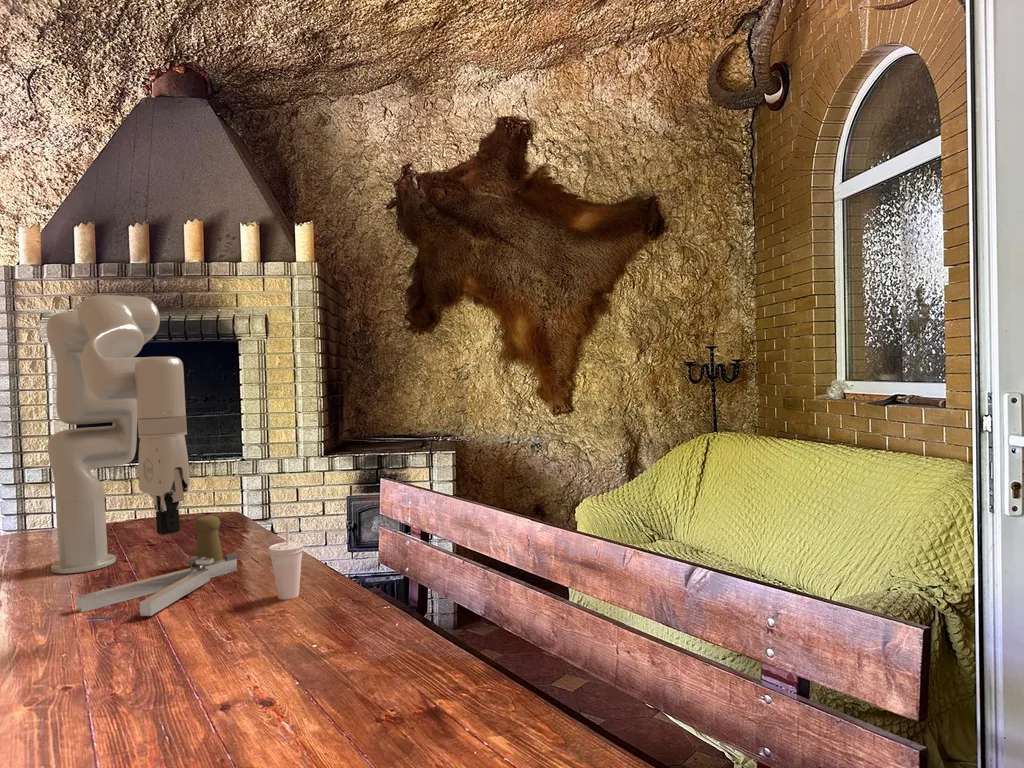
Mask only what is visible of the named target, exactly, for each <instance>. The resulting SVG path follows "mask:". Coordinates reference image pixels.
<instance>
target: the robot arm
mask: <svg viewBox="0 0 1024 768" xmlns="http://www.w3.org/2000/svg"><path fill="white" fill-rule="evenodd" d="M160 319H161V317H160V312H159V309H158V307H157V306H156V304H155V303H154V302H153V300H151V299H150V298H147V297H145V296H139V295H138V296H136V295H133V296H132V295H113V294H98V295H93V296H89V297H87V298H86V299H84V300H83V301H82V302H80V304H79V306H78V309H77V311H64V312H58V313H55V314H52V316H50V317H49V318H48V321H47V324H46V337H47V340H48V341H47V342H48V344H49V347H50V349H51V351H52V355H53V357H54V361H55V363H56V364H55V365H56V385H55V386H56V389H55V390H56V395H55V397H56V400H55V401H56V414H57V418H58V419H59V421H61V422H62V423H64V424H65V425H93V424H103V423H104V424H105V423H107V424H108V423H112V425H105V426H92V427H90V426H89V427H78V428H69V429H67V428H66V429H64V430H61V431H58V432H56V433H54V434H53V435H52V436H51V437H50V438H49V439H48V442H47V455H48V459H49V463H50V466H51V471H52V472H51V473H52V477H53V484H54V496H55V513H56V514H55V515H56V528H57V529H56V531H57V547H58V548H57V550H58V561H56V562H54V563H53V564H51V566H50V570H51V572H52V573H55V574H63V575H64V574H65V575H67V574H78V573H85V572H86V573H87V572H91V571H94V570H100V569H103V568H105V567H108V566H110V565H113V564H114V563H115V562H116V561H117V557H116V555H114V554H112V553H109V552H108V551H109V550H108V537H107V536H108V535H107V517H106V500H105V499H106V497H105V488H104V485H103V483H102V482H101V480H100V479H98V478H97V477H96V476H95V475H94V474H92V472H91V470H94V469H99V468H100V469H101V468H108V467H117V466H123V465H126V464H129V463H131V462H132V461H133V460H134V459H135V455H136V452H137V442H138V441H137V437H138V438H139V443H138V444H139V445H138V465H137V466H138V489H139V490H140V492H141V493H144V494H146V495H149V496H150V497H151V498H152V499H153V507H154V510H155V520H156V533H157V534H158V535H162V536H164V535H165V536H166V535H169V534H170V535H171V534H174V533H179V532H180V530H181V528H180V513H179V511H180V507H181V504H180V503H181V502H182V501H183V502H184V500H185V495H184V494H185V493H186V492H187V491H188V490H189V489H190V482H191V481H190V479H191V478H190V467H189V456H188V449H187V443H186V435H188V429H187V426H188V425H187V415H186V414H187V413H186V411H187V410H186V396H185V395H186V394H185V393H186V392H185V376H184V375H185V373H184V371H185V370H184V363H183V361H182V360H181V358H179V357H176V356H146V357H142V356H140V357H138V356H137V355H138V354H139V353H140V352H141V351H142V348H144V347H143V346H144V345H146V344H147V343H148V342H149V341H150V340H151V339H152V338H153V337H155V335H156V334H157V332H158V330H159V328H160V324H161V323H160V322H161V320H160ZM136 356H137V357H136Z"/></svg>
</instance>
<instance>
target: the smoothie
mask: <svg viewBox="0 0 1024 768" xmlns="http://www.w3.org/2000/svg"><path fill="white" fill-rule="evenodd" d="M304 549H305V547H304V543H303V542H301V541H290V527H289V522H288V521H286V522H285V541H284V542H279V543H276V544H273V545H272V544H271V545H270V546H269V547H268V554H269V555H270V559H271V563H272V565H271V566H272V570H273V574H274V575H273V576H274V581H275V586H276V592H277V598H278V599H279V600H283V601H285V600H287V601H288V600H293V599H296V598H298V597H299V595H300V585H301V584H300V583H301V571H302V570H301V569H302V557H303V551H304Z"/></svg>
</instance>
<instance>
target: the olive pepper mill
mask: <svg viewBox="0 0 1024 768" xmlns="http://www.w3.org/2000/svg"><path fill="white" fill-rule="evenodd" d="M220 526H221V520H220V518H219V517H218V516H216V515H204V516H201V517H198V518H197V519H196V520H195V522H194V529H195V531H196V532H197V537H196V538H197V539H196V549H195V556H206V558H214V562H216V561H220V560H224V556H223V550H222V546H221V541H220V535H219V529H220ZM203 565H204V564H203Z"/></svg>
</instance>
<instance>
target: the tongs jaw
mask: <svg viewBox="0 0 1024 768" xmlns="http://www.w3.org/2000/svg"><path fill="white" fill-rule="evenodd" d="M213 562H214V558H206V556H196V555H195V556H191V557H188V558H186V563H187V565H191V564H211V563H213ZM210 581H211V578H210V570H209V569H199V570H197V571H195V572H194V573H192V574H190V575H188V576H186V577H185V578H183V579H181V580H179V581H177V582H176V583H174V584H172V585H170V586H168V587H167V588H165V589H163V590H161V591H159V592H156V593H153V594H151V596H149V597H147V598H145V599H144V600H141V601H140V602H139V614H140V615H139V617H152V616H153V615H156V613H158V612H160V611H161V610H164V609H165V608H166V607H169V606H170V605H172V604H173V603H175V602H176V601H178V600H180V599H181V598H183V597H185V596H187V595H188V594H190V593H192V592H194V591H195V590H197V589H198V588H199V587H202V586H203V585H205V584H206V583H208V582H210Z"/></svg>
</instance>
